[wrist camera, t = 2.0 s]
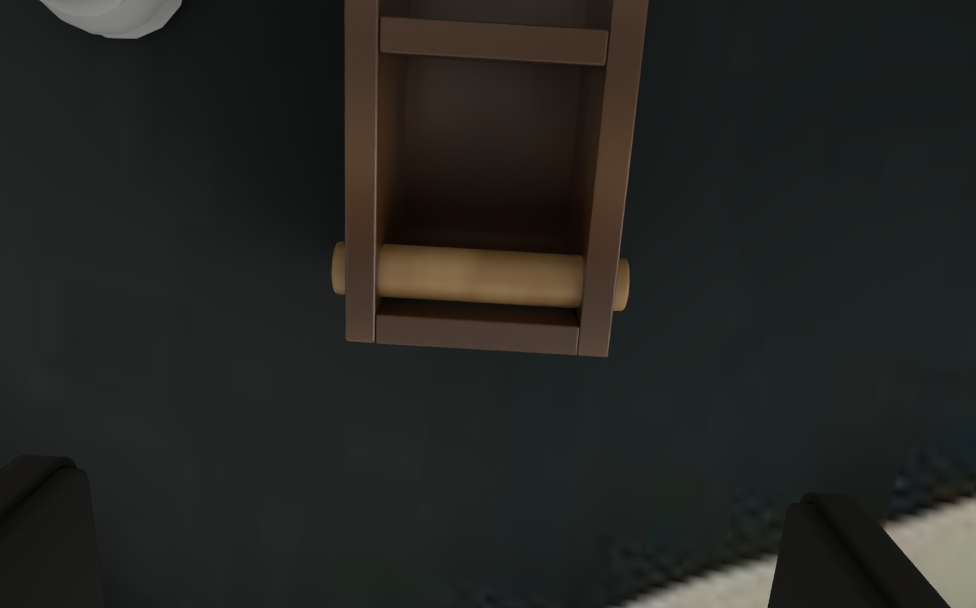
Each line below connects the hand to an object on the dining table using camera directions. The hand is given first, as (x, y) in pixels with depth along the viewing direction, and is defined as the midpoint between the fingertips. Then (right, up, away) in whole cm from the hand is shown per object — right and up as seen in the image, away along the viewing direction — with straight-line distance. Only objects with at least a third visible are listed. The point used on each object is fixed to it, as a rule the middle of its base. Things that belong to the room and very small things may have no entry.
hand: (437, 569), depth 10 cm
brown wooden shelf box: (+1, +11, +12) cm, 17 cm away
